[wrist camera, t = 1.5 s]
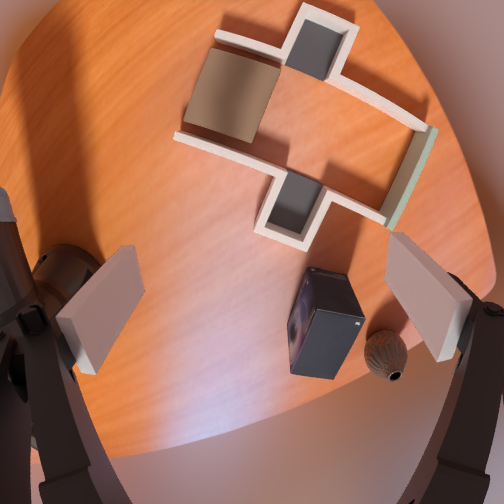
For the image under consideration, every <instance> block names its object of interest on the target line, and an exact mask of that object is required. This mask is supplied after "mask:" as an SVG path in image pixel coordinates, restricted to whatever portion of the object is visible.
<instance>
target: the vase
mask: <svg viewBox="0 0 504 504" xmlns="http://www.w3.org/2000/svg"><path fill="white" fill-rule="evenodd" d="M407 356H408V355H407V348H406V345H405V343H404V341H403V339H402V338H401V337H400V336H399V335H398V334H396V333H395V332H393V331H389V330H382V331H378V332H376V333H374V334H373V335H372V336H371V337H370V338H369V339H368V341H367V343H366V345H365V349H364V357H365V361H366V364H367V366H368V368H369V369H370V370H371V372H373V373H374V374H375V375H376V376H378V377H381V378H385V379H387V380H388V381H390V382H394V381H397V380H399V379H400V378H401V377H402V375H403V370H404V367H405V365H406V362H407Z"/></svg>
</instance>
